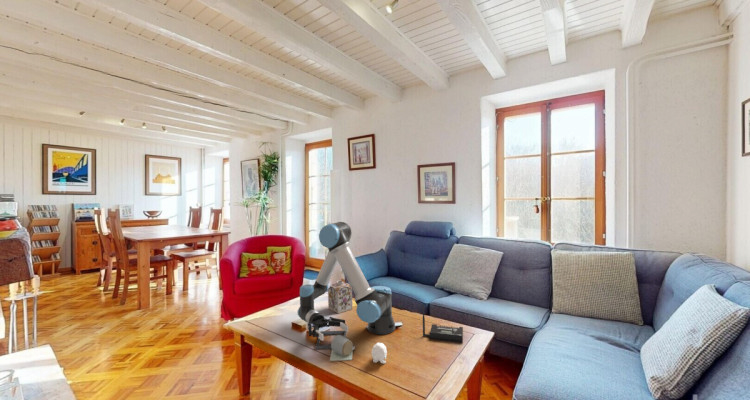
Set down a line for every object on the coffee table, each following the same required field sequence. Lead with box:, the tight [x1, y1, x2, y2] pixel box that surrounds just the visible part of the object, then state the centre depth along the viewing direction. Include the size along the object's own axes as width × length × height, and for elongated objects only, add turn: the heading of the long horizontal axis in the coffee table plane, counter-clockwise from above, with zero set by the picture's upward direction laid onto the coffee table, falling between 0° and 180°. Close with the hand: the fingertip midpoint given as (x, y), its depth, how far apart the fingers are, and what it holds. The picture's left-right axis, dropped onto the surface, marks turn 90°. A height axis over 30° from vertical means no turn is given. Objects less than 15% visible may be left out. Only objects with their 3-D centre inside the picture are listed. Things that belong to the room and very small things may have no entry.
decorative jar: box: [327, 280, 353, 314], centre depth 203 cm, size 12×12×18 cm
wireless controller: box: [422, 304, 464, 344], centre depth 163 cm, size 20×14×17 cm
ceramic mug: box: [330, 334, 356, 356], centre depth 148 cm, size 11×8×8 cm
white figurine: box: [371, 342, 388, 365], centre depth 142 cm, size 6×8×12 cm
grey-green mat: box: [329, 349, 354, 362], centre depth 147 cm, size 10×10×1 cm
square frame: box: [315, 330, 348, 350], centre depth 160 cm, size 14×16×2 cm
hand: (335, 333), depth 150 cm, fingers open, 13 cm apart
